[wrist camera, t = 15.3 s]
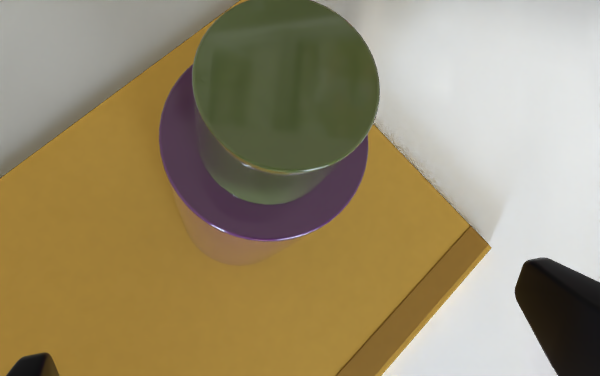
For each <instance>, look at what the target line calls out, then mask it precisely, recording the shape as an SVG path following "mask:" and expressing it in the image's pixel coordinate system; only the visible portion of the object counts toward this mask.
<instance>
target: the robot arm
mask: <svg viewBox="0 0 600 376" xmlns="http://www.w3.org/2000/svg"><path fill="white" fill-rule="evenodd" d="M515 297H516V300H517V302H518V304H519V306H520V308H521V310H522V311H523V313H524V315H525V317H526V319H527V321H528V323H529V324H530V326H531V328H532V330H533V332H534V334H535V336H536V338H537V339H538V341H539V343H540V345H541V347H542V349H543V351H544V353H545V354H546V356H547V358H548V360H549V361H550V363H551V365H552V367H553V368H554V370H555V372H556V373H557V375H558V376H600V282H597V281H595V280H593V279H591V278H589V277H587V276H585V275H583V274H581V273H578V272H576V271H574V270H572V269H570V268H568V267H566V266H564V265H561V264H559V263H557V262H555V261H553V260H551V259H548V258H537V259H531V260H528V261H526V262H525V263H524V264H523V267H522V270H521V273H520V275H519V278H518V281H517V284H516V287H515ZM6 376H60V375H59V373H58V371H57V368H56V366H55V363H54V361H53V359H52V357H51V355H50V354H49V353H47V352H46V353H45V352H43V353H38V354H33V355H27V356H24V357H22V358H20V359H19V360H18V361H17V362H16V363H15V365H14V366H13V367H12V368H11V370H10V371H9V372H8V373H7V375H6Z"/></svg>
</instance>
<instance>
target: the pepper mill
mask: <svg viewBox="0 0 600 376" xmlns="http://www.w3.org/2000/svg"><path fill="white" fill-rule="evenodd" d="M379 95H380V87H379V77H378V72H377V68H376V64H375V62H374V59H373V56H372V54H371V52H370V50H369V48H368V46H367V44H366V43H365V41H364V40H363V38H362V37H361V36H360V34H359V33H358V32H357V31H356V30H355V28H354V27H353V26H352V25H351V24H350V23H348V22H347V21H346V20H345V19H344V18H343V17H341V16H340V15H339V14H337V13H336V12H334V11H333V10H331V9H329V8H328V7H326V6H324V5H321V4H319V3H317V2H314V1H311V0H247V1H245V2H242V3H240V4H238V5H236V6H234V7H233V8H231V9H229V10H228V11H226V12H225V13H224V14H223V15H221V16H220V17H219V18H218V19H217V20H216V21H215V22H214V23H213V24H212V25H211V26H210V27H209V28H208V30H207V31H206V33H205V34H204V36H203V37H202V39H201V41H200V44H199V46H198V48H197V51H196V54H195V57H194V62H193V64H192V65H191V66H190V67H189V68H187V69H186V71H185V72H184V73H183V74H182V75H181V76H180V77H179V78H178V80H177V81H176V83H175V84H174V86H173V87H172V89H171V91H170V93H169V95H168V97H167V99H166V101H165V104H164V107H163V110H162V113H161V119H160V125H159V148H160V156H161V159H162V163H163V167H164V170H165V173H166V176H167V179H168V182H169V185H170V187H171V190H172V193H173V196H174V199H175V202H176V205H177V208H178V211H179V213H180V216H181V219H182V222H183V225H184V228H185V230H186V232H187V234H188V236H189V238H190V239H191V241H192V242H193V243H194V245H195V246H196V247H197V248H198V249H199V250H200V251H201V252H202V253H204V254H205V255H206V256H208V257H210V258H211V259H213V260H215V261H218V262H221V263H224V264H228V265H235V266H245V265H252V264H256V263H259V262H262V261H264V260H266V259H268V258H270V257H272V256H273V255H275V254H277V253H279V252H280V251H282V250H284V249H285V248H287V247H289V246H291V245H292V244H294V243H296V242H297V241H299V240H301V239H303V238H304V237H306V236H308V235H310V234H311V233H313V232H315V231H316V230H318V229H320V228H321V227H323V226H325V225H326V224H328V223H329V222H330V221H332V220H333V219H334V218H335V217H336V216H338V215H339V214H340V213H341V212H342V211H343V210H344V208H345V207H346V206H347V205H348V204H349V202H350V201H351V200H352V198H353V197H354V195H355V194H356V192H357V190H358V188H359V186H360V184H361V182H362V179H363V176H364V173H365V170H366V164H367V159H368V146H369V144H368V133H369V131H370V129H371V127H372V125H373V123H374V120H375V117H376V114H377V110H378V105H379Z"/></svg>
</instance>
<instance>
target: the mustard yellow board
mask: <svg viewBox="0 0 600 376" xmlns="http://www.w3.org/2000/svg"><path fill="white" fill-rule="evenodd" d="M245 1H247V0H240V1H239V2H237V3H236V4H235V5H233V6H232V7H230V8H229V9H231V8H233V7H234V6H236V5H238V4H240V3H242V2H245ZM229 9H228V10H229ZM228 10H226V11H228ZM226 11H225V12H226ZM225 12H224V13H225ZM224 13H222V14H221V15H223V14H224ZM221 15H220V16H221ZM220 16H218V17H217V18H216V19H214V20H213V21H212V22H210V23H209V24H208V25H206V26H205V27H204V28H202V29H201V30H199V31H198V32H197V33H195V34H194V35H193V36H191V37H190V38H189V39H187V40H186V41H185V42H183V43H182V44H181V45H179V46H178V47H177V48H175V49H174V50H173V51H171V52H170V53H168V54H167V55H166V56H164V57H163V58H162V59H160V60H159V61H158V62H156V63H155V64H154V65H152V66H151V67H150V68H148V69H147V70H146V71H144V72H143V73H142V74H140V75H139V76H137V77H136V78H135V79H133V80H132V81H131V82H129V83H128V84H127V85H125V86H124V87H123V88H121V89H120V90H119V91H117V92H116V93H115V94H113V95H112V96H111V97H109V98H108V99H106V100H105V101H104V102H102V103H101V104H100V105H98V106H97V107H96V108H94V109H93V110H92V111H90V112H89V113H88V114H86V115H85V116H84V117H82V118H81V119H80V120H78V121H77V122H75V123H74V124H73V125H71V126H70V127H69V128H67V129H66V130H65V131H63V132H62V133H61V134H59V135H58V136H57V137H55V138H54V139H53V140H51V141H50V142H49V143H47V144H46V145H44V146H43V147H42V148H40V149H39V150H38V151H36V152H35V153H34V154H32V155H31V156H30V157H28V158H27V159H26V160H24V161H23V162H22V163H20V164H19V165H17V166H16V167H15V168H13V169H12V170H11V171H9V172H8V173H7V174H5V175H4V176H3V177H1V178H0V376H6V375H7V373H8V372H9V371H10V370H11V368H12V367H13V366H14V365H15V363H16V362H17V361H18V360H19V359H20V358H22V357H24V356H27V355H33V354H38V353H43V352H45V353H46V352H47V353H49V354H50V355H51V357H52V359H53V361H54V363H55V366H56V368H57V371H58V373H59V375H60V376H381V375H382V374H383V373H384V372H385V371H386V370H387V368H388V367H389V366H390V365H391V364H392V363H393V361H394V360H395V359H396V358H397V357H398V356H399V355H400V353H401V352H402V351H403V350H404V349H405V348H406V346H407V345H408V344H409V343H410V342H411V341H412V339H413V338H414V337H415V336H416V335H417V334H418V333H419V331H420V330H421V329H422V328H423V327H424V326H425V324H426V323H427V322H428V321H429V320H430V319H431V317H432V316H433V315H434V314H435V313H436V312H437V310H438V309H439V308H440V307H441V306H442V305H443V304H444V302H445V301H446V300H447V299H448V298H449V297H450V295H451V294H452V293H453V292H454V291H455V290H456V288H457V287H458V286H459V285H460V284H461V283H462V282H463V280H464V279H465V278H466V277H467V276H468V275H469V273H470V272H471V271H472V270H473V269H474V268H475V266H476V265H477V264H478V263H479V262H480V261H481V260H482V258H483V257H484V256H485V255H486V254H487V253H488V251H489V250H490V249H491V247H490V246H489V244H488V243H487V242H486V241H485V240H484V239H483V238H482V237H481V236H480V235H479V234H478V233H477V232H476V230H475V229H474V228H473V227H472V226H470V225H469V224H468V223H467V222H466V221H465V219H464V218H463V217H462V216H461V215H460V214H459V213H458V212H457V211H456V210H455V209H454V208H453V207H452V206H451V205H450V204H449V203H448V202H447V201H446V200H445V199H444V198H443V196H442V195H441V194H440V193H439V192H438V191H437V190H436V189H435V188H434V187H433V186H432V185H431V184H430V183H429V182H428V181H427V180H426V179H425V178H424V177H423V176H422V174H421V173H420V172H419V171H418V170H417V169H416V168H415V167H414V166H413V165H412V164H411V163H410V162H409V161H408V160H407V159H406V158H405V157H404V156H403V155H402V154H401V153H400V151H399V150H398V149H397V148H396V147H395V146H394V145H393V144H392V143H391V142H390V141H389V140H388V139H387V138H386V137H385V136H384V135H383V134H382V133H381V132H380V131H379V129H378V128H377V127H376V126H375V125H374V124H373V125H372V127H371V129H370V131H369V133H368V144H369V146H368V159H367V164H366V170H365V173H364V176H363V179H362V182H361V184H360V186H359V188H358V190H357V192H356V194H355V195H354V197H353V198H352V200H351V201H350V202H349V204H348V205H347V206H346V207H345V208H344V210H343V211H342V212H341V213H340V214H339V215H338V216H336V217H335V218H334V219H333V220H332V221H330V222H329V223H328V224H326V225H325V226H323V227H321V228H320V229H318V230H316V231H315V232H313V233H311V234H310V235H308V236H306V237H304V238H303V239H301V240H299V241H297V242H296V243H294V244H292V245H291V246H289V247H287V248H285V249H284V250H282V251H280V252H279V253H277V254H275V255H273V256H272V257H270V258H268V259H266V260H264V261H262V262H259V263H256V264H252V265H245V266H235V265H228V264H224V263H221V262H218V261H215V260H213V259H211V258H210V257H208V256H206V255H205V254H204V253H202V252H201V251H200V250H199V249H198V248H197V247H196V246H195V245H194V243H193V242H192V241H191V239H190V238H189V236H188V234H187V232H186V230H185V228H184V225H183V222H182V219H181V216H180V213H179V211H178V208H177V205H176V202H175V199H174V196H173V193H172V190H171V187H170V185H169V182H168V179H167V176H166V173H165V170H164V167H163V163H162V159H161V156H160V148H159V125H160V119H161V113H162V110H163V107H164V104H165V101H166V99H167V97H168V95H169V93H170V91H171V89H172V87H173V86H174V84H175V83H176V81H177V80H178V78H179V77H180V76H181V75H182V74H183V73H184V72H185V71H186V69H187V68H189V67H190V66H191V65H192V64H193V62H194V57H195V54H196V51H197V48H198V46H199V44H200V41H201V39H202V37H203V36H204V34H205V33H206V31H207V30H208V28H209V27H210V26H211V25H212V24H213V23H214V22H215V21H216V20H217V19H218V18H219V17H220Z"/></svg>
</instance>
